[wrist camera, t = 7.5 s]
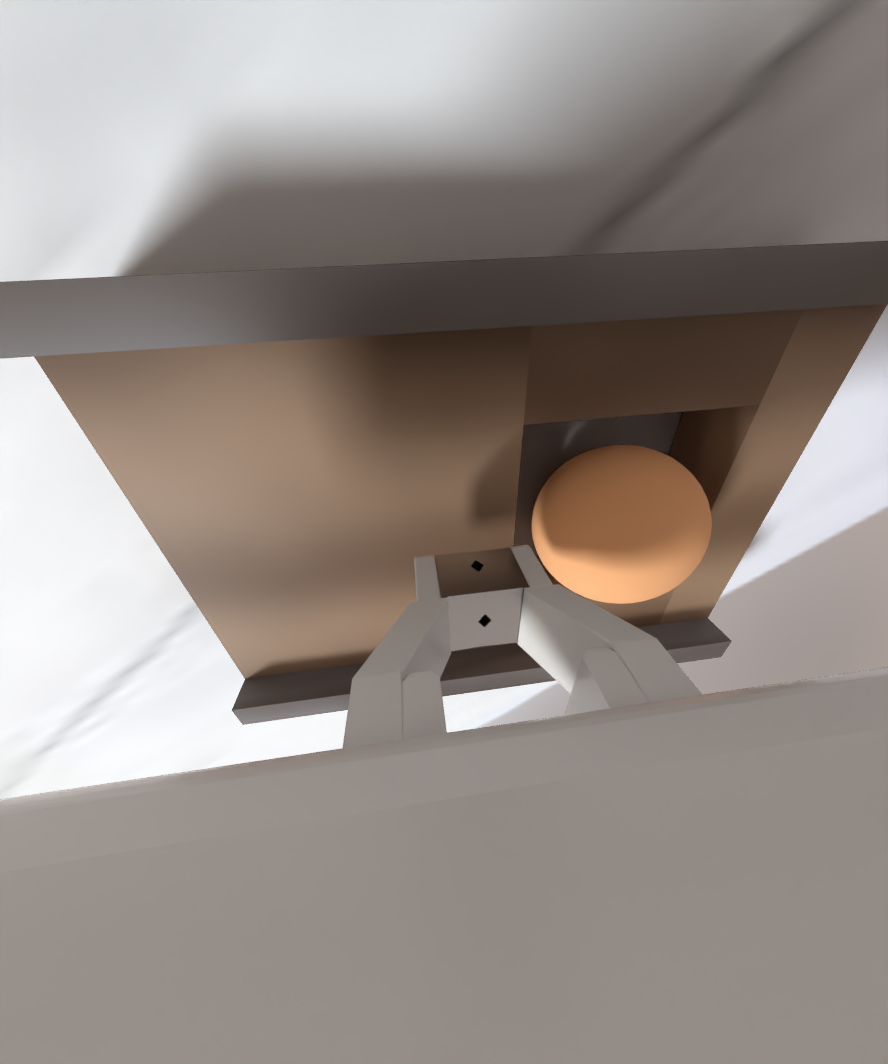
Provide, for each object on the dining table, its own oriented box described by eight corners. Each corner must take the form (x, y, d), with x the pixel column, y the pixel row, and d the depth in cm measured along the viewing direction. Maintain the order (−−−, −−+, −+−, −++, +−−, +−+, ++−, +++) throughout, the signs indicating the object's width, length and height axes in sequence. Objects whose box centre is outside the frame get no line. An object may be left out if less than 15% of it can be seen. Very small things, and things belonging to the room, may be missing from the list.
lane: (98, 299, 8) (-91, 286, 5) (804, 263, 9) (1003, 235, 6) (274, 642, 15) (243, 724, 12) (660, 594, 16) (721, 656, 13)
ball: (701, 425, 11) (540, 427, 12) (786, 485, 6) (529, 478, 8) (662, 552, 13) (533, 541, 15) (706, 654, 9) (521, 624, 11)
